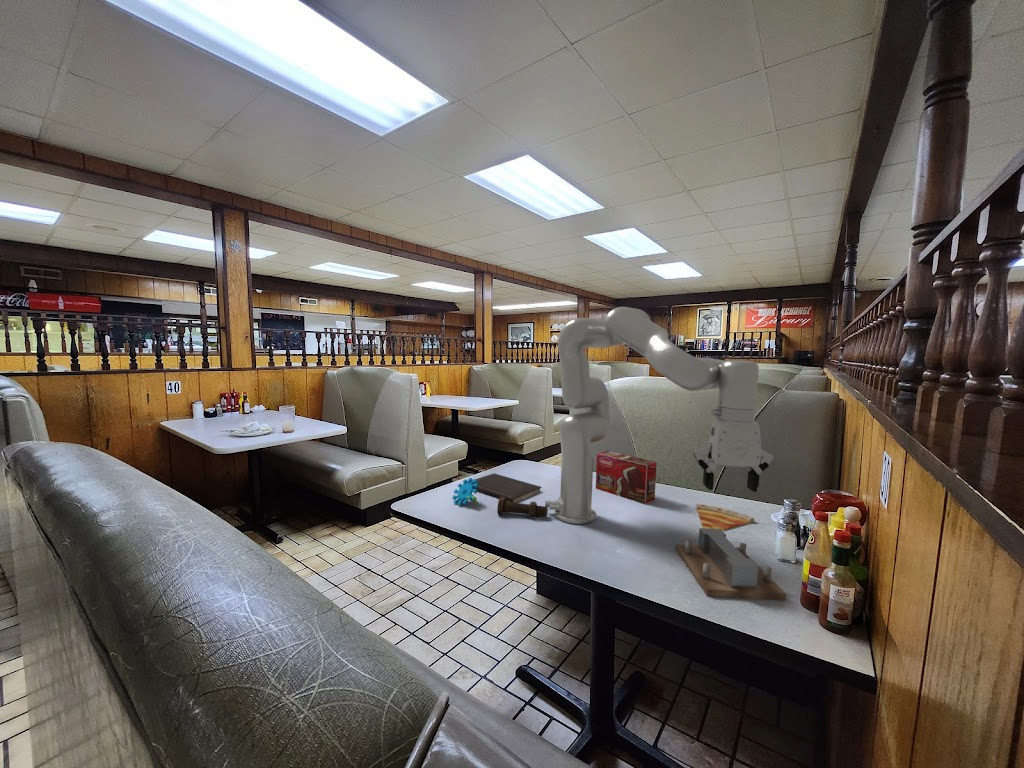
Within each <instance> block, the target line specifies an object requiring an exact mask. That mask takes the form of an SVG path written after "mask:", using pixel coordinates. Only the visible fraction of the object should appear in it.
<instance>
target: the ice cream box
mask: <svg viewBox="0 0 1024 768" xmlns="http://www.w3.org/2000/svg"><path fill="white" fill-rule="evenodd" d="M657 463H658V462H657V461H653V460H649V459H644V458H641V457H640V458H639V457H636V456H631V455H627V454H623V453H619V452H615V451H610V450H604V451H600V452H597V454H596V466H595V467H596V468H595V469H596V470H595V489H596V490H599V491H602V492H605V493H608V494H611V495H614V496H618V497H620V498H623V499H626V498H627V499H626V500H629V499H630V501H632V500H633V501H632V502H635V501H636V503H638V502H639V503H638V504H642V505H647V504H649V503H651V501H652V502H653V500H654V501H655V496H656V480H657Z"/></svg>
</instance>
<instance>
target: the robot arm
mask: <svg viewBox="0 0 1024 768" xmlns="http://www.w3.org/2000/svg"><path fill="white" fill-rule="evenodd" d="M621 344H624V345H626V346H627V347H629V348H631V349H632V350H634V351H635V352H637V353H638V354H639V355H641V356H642V357H644V358H645V359H646V360H647V362H648V363H649V365H651V367H652V368H653V369H654V370H655V371H656V372H657V373H659V374H660V375H661V376H662V377H664V378H666V379H667V380H668V381H670V382H672V383H673V384H674V385H677V386H678V387H680V388H681V389H684V390H686V391H690V392H698V391H699V392H700V391H706V390H718V396H717V397H718V399H717V405H716V408H715V409H714V408H713V409H711V416H715V417H716V419H715V418H714V419H713V422H712V425H711V427H710V428H711V429H710V433H709V437H708V443H707V444H706V445H704V446H702V447H699V448H697V449H695V450H693V451H692V455H693V457H694V459H695V461H696V463H697V465H698V466H700V468H701V469H702V470H703V476H702V484H703V485H704V487H705V489H707V490H708V491H712V490H714V482H715V481H714V479H715V478H714V477H715V473H714V472H713V471H714V470H715V469H716V468H717V467H729V468H749V469H750V470H748V472H747V479H746V480H747V481H746V488H747V489H749V490H750V491H751V492H754V493H757V491H758V488H759V485H760V476H761V475H763V473H764V471H765V470H766V469H768V468H769V465H770V464H771V462H772V461H773V459H774V455H773V454H771V453H770V452H767V451H766V450H764V449H762V443H761V442H762V440H761V439H762V438H761V431H760V425H759V422H756V420H755V419H756V409H757V398H758V397H757V396H758V386H759V385H758V384H759V373H760V369H759V368H760V367H759V364H758V363H757V362H756V361H752V360H740V359H736V360H734V359H732V360H731V359H729V360H722V359H718V358H717V359H716V358H713V357H712V358H711V357H695V356H693V355H692V354H690V353H688V352H686V351H685V350H683V349H682V348H680V347H678V346H677V345H676V344H674V342H672V341H671V340H670V339H669V332H668V331H667V330H666V329H665V328H663V327H661V326H660V325H658V324H657V323H655V322H653V321H652V320H651V318H650V316H649V315H648V313H647V312H646V311H644V310H643V309H642V310H641V309H639V308H633V307H628V306H619V307H615V308H613V309H612V310H610V311H609V312H608V314H607V315H606V317H605V319H598V318H591V317H590V318H589V317H579V318H574V319H571V320H570V321H568V322H566V323H565V325H563V327H562V328H561V330H560V332H559V334H558V338H557V351H558V355H559V362H560V379H561V381H560V384H561V397H562V403H563V404H564V405H565V406H566V407H567V408H568V409H571V410H580V409H582V412H580V413H573V414H570V415H567V416H566V417H565V418H563V419H562V421H561V422H560V423H559V424H560V425H559V428H558V430H559V431H558V432H559V433H558V434H559V441H560V448H561V449H560V451H561V453H560V454H561V463H560V467H561V468H560V469H561V470H560V491H559V492H560V494H559V495H560V497H558V499H555V501H553V500H552V501H551V500H544V502H545V503H544V507H548V511H549V510H554V516H555V518H557V520H560V521H562V522H564V523H565V522H566V523H567V524H576V525H577V524H578V525H583V524H584V525H586V524H589V523H592V522H594V521H595V520H596V519H597V512H596V511H595V510H594V509H593V508H592V498H593V478H594V477H593V476H594V475H593V474H594V473H593V472H594V455H593V452H592V449H591V446H590V444H591V443H597V442H600V441H602V440H604V439H605V438H607V436H608V434H609V432H610V429H611V428H610V427H611V419H610V418H611V416H610V399H609V391H608V388H607V386H606V384H605V383H604V381H603V380H602V379H600V378H599V377H595V376H591V375H590V363H589V359H588V356H587V353H586V352H585V349H586V348H592V349H593V348H594V349H595V348H596V349H597V348H598V349H602V348H603V349H604V348H605V349H606V348H610V347H614V346H618V345H621ZM704 455H707V460H706V461H704V458H703V456H704ZM761 458H762V459H761Z"/></svg>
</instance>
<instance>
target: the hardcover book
mask: <svg viewBox="0 0 1024 768" xmlns="http://www.w3.org/2000/svg"><path fill="white" fill-rule="evenodd" d="M475 479H476V481H477V483H478V484H479V485H478V488H476V487H474V488H473V489H476V490H477V493H479V494H482V495H486V496H489V497H491V498H494V499H497V500H499V498H500V497H505V499H506V501H510V502H516V503H518V502H520V501H521V500H524V499H526V498H529V497H531V496H533V495H536V494H538V493H541V489H542V486H540V485H536V484H532V483H529V482H526V481H521V480H520V479H515V478H513V477H512V478H511V477H508V476H505V475H502V474H498V473H495V472H494V473H489V474H487V475H484V476H481V477H478V478H475ZM474 484H475V483H474ZM474 484H473V485H474Z"/></svg>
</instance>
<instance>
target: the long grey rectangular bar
mask: <svg viewBox="0 0 1024 768" xmlns="http://www.w3.org/2000/svg"><path fill="white" fill-rule="evenodd" d="M698 530H699V531H698V544H697V545H698V548H699V549H700V550H701V551H702V552H703V553H707V555H708V556H709V557H710V558H711V560H712V561H713V562H714V563H715V564H716V566H717V567H718V568H719V569H720V570H721V572H722V573H723V574H724V575H725V576H724V580H725V581H726V582H727V583H728V585H729V586H730V587H731V588H746V589H756V587H757V575H758V566H759V565H758V564H757V563H756V562H755V561H754V560H753V559H752V558H751V559H752V560H753V561H754V562H755V563H756V564H757V565H758V566H757V565H756V564H755V563H754V562H753V561H752V560H751V559H747V558H746V557H745V556H744V555H743V554H742V553H741V552H740V551H739V550H738V549H737V548H736V547H737V546H736V547H735V545H734V544H733V543H732V542H731V541H729V539H728V538H727V534H726V533H725V532H724V531H722V530H721V529H706V528H702V527H701V528H700V527H699V528H698Z"/></svg>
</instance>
